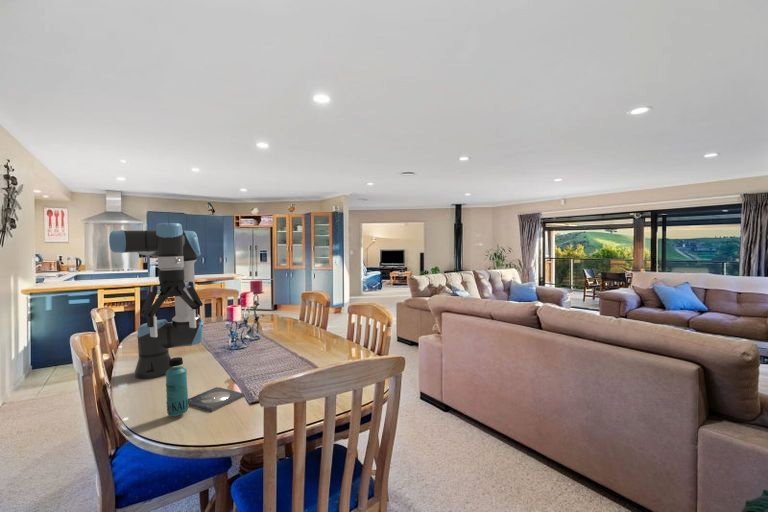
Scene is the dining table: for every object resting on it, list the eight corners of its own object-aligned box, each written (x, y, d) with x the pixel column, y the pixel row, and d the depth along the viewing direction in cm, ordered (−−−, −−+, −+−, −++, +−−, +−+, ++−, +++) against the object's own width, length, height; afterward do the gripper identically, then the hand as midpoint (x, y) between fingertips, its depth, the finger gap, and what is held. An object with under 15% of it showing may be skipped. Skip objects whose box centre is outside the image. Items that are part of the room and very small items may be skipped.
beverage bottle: (172, 412, 129) (169, 355, 128) (192, 411, 130) (189, 354, 129) (163, 421, 123) (160, 361, 122) (184, 420, 123) (181, 360, 122)
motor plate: (183, 403, 136) (183, 400, 136) (216, 389, 148) (216, 386, 148) (211, 412, 129) (211, 408, 129) (244, 396, 141) (244, 393, 141)
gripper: (138, 272, 111) (142, 342, 112) (211, 266, 133) (214, 325, 134) (124, 272, 115) (128, 339, 116) (198, 266, 137) (200, 323, 138)
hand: (174, 332), depth 125 cm, fingers open, 13 cm apart
